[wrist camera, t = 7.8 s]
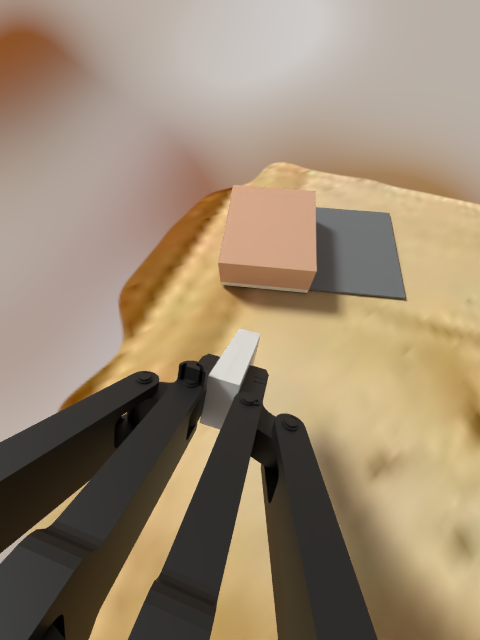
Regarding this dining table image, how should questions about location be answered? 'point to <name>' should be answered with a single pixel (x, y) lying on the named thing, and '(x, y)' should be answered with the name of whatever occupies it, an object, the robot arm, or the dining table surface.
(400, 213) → the dining table surface
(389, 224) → the mat
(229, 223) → the tan and white box
